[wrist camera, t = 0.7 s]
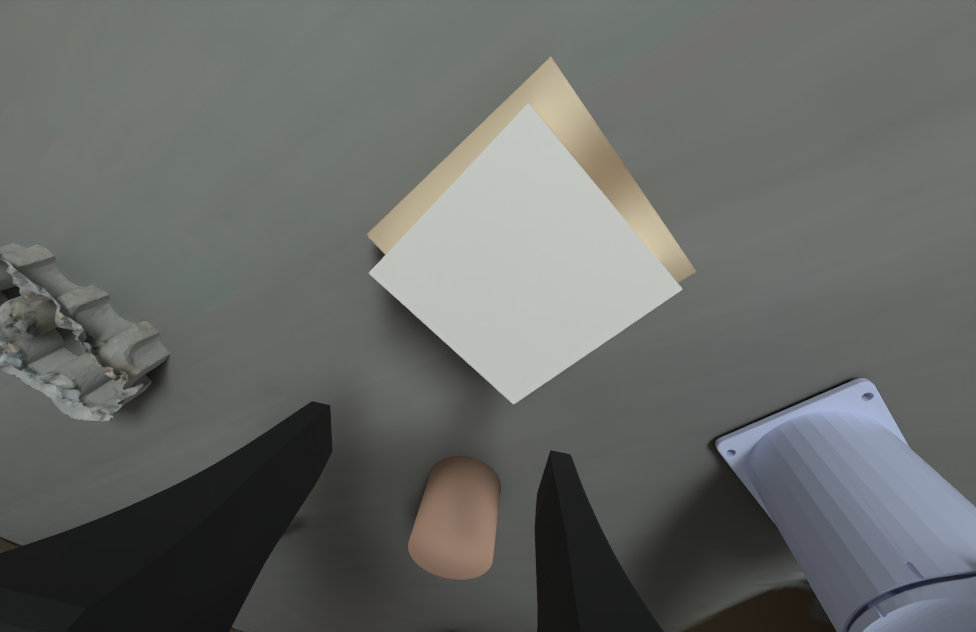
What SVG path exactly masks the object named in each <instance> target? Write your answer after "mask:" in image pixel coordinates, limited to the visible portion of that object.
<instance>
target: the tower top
mask: <svg viewBox="0 0 976 632" xmlns="http://www.w3.org/2000/svg"><path fill="white" fill-rule="evenodd" d="M369 274H370V275H371V276H372V277H373V278H374V279H375V280H377V281H378V282H379V283H380V284H381V285H382V286H383V287H384V288H385V289H386V290H388V291H389V292H390V293H391V294H392V295H393V296H394V297H395V298H396V299H398V300H399V301H400V302H401V303H402V304H403V305H404V306H405V307H406V308H407V309H409V310H410V311H411V312H412V313H413V314H414V315H415V316H416V317H417V318H419V319H420V320H421V321H422V322H423V323H424V324H425V325H426V326H427V327H428V328H430V329H431V330H432V331H433V332H434V333H435V334H436V335H437V336H438V337H439V338H441V339H442V340H443V341H444V342H445V343H446V344H447V345H448V346H449V347H451V348H452V349H453V350H454V351H455V352H456V353H457V354H458V355H459V356H460V357H462V358H463V359H464V360H465V361H466V362H467V363H468V364H469V365H470V366H472V367H473V368H474V369H475V370H476V371H477V372H478V373H479V374H480V375H481V376H483V377H484V378H485V379H486V380H487V381H488V382H489V383H490V384H491V385H492V386H494V387H495V388H496V389H497V390H498V391H499V392H500V393H501V394H502V395H504V396H505V397H506V398H507V399H508V400H509V401H510V402H511V403H512V404H513V405H514V404H515V403H517V402H518V401H519V400H521V399H522V398H524V397H525V396H527V395H528V394H530V393H531V392H533V391H534V390H536V389H537V388H539V387H540V386H542V385H543V384H544V383H546V382H547V381H549V380H550V379H552V378H553V377H555V376H556V375H558V374H559V373H561V372H562V371H564V370H565V369H566V368H568V367H569V366H571V365H572V364H574V363H575V362H577V361H578V360H580V359H581V358H583V357H584V356H586V355H587V354H588V353H590V352H591V351H593V350H594V349H596V348H597V347H599V346H600V345H602V344H603V343H605V342H606V341H608V340H609V339H611V338H612V337H613V336H615V335H616V334H618V333H619V332H621V331H622V330H624V329H625V328H627V327H628V326H630V325H631V324H633V323H634V322H635V321H637V320H638V319H640V318H641V317H643V316H644V315H646V314H647V313H649V312H650V311H652V310H653V309H655V308H656V307H657V306H659V305H660V304H662V303H663V302H665V301H666V300H668V299H669V298H671V297H672V296H674V295H675V294H677V293H678V292H680V291H681V290H682V288H681V287H680V285H679V284H678V283H677V282H676V280H675V279H674V278H673V277H672V276H671V274H670V273H669V272H668V271H667V270H666V268H665V267H664V266H663V265H662V264H661V262H660V261H659V260H658V259H657V257H656V256H655V255H654V254H653V253H652V251H651V250H650V249H649V248H648V247H647V245H646V244H645V243H644V242H643V241H642V239H641V238H640V237H639V236H638V235H637V233H636V232H635V231H634V230H633V229H632V227H631V226H630V225H629V224H628V222H627V221H626V220H625V219H624V218H623V216H622V215H621V214H620V213H619V212H618V210H617V209H616V208H615V207H614V206H613V204H612V203H611V202H610V201H609V200H608V198H607V197H606V196H605V195H604V194H603V192H602V191H601V190H600V189H599V188H598V186H597V185H596V184H595V183H594V181H593V180H592V179H591V178H590V177H589V175H588V174H587V173H586V172H585V171H584V169H583V168H582V167H581V166H580V165H579V163H578V162H577V161H576V160H575V159H574V157H573V156H572V155H571V154H570V153H569V151H568V150H567V149H566V148H565V147H564V145H563V144H562V143H561V142H560V140H559V139H558V138H557V137H556V136H555V134H554V133H553V132H552V131H551V130H550V128H549V127H548V126H547V125H546V124H545V122H544V121H543V120H542V119H541V118H540V116H539V115H538V114H537V113H536V112H535V110H534V109H533V108H532V107H531V106H530V104H529V103H528V104H527V105H526V106H525V107H524V108H523V109H522V110H521V111H520V112H519V113H518V114H517V115H516V116H515V118H514V119H513V120H512V121H511V122H510V123H509V124H508V125H507V126H506V127H505V128H504V129H503V130H502V131H501V132H500V134H499V135H498V136H497V137H496V138H495V139H494V140H493V141H492V142H491V143H490V144H489V145H488V146H487V147H486V148H485V150H484V151H483V152H482V153H481V154H480V155H479V156H478V157H477V158H476V159H475V160H474V161H473V162H472V163H471V164H470V166H469V167H468V168H467V169H466V170H465V171H464V172H463V173H462V174H461V175H460V176H459V177H458V178H457V179H456V180H455V181H454V183H453V184H452V185H451V186H450V187H449V188H448V189H447V190H446V191H445V192H444V193H443V194H442V195H441V196H440V197H439V199H438V200H437V201H436V202H435V203H434V204H433V205H432V206H431V207H430V208H429V209H428V210H427V211H426V212H425V213H424V215H423V216H422V217H421V218H420V219H419V220H418V221H417V222H416V223H415V224H414V225H413V226H412V227H411V228H410V229H409V231H408V232H407V233H406V234H405V235H404V236H403V237H402V238H401V239H400V240H399V241H398V242H397V243H396V244H395V245H394V247H393V248H392V249H391V250H390V251H389V252H388V253H387V254H386V255H385V256H384V257H383V258H382V259H381V260H380V261H379V263H378V264H377V265H376V266H375V267H374V268H373V269H372V270H371V271H370V272H369Z"/></svg>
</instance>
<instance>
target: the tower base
mask: <svg viewBox="0 0 976 632" xmlns="http://www.w3.org/2000/svg"><path fill="white" fill-rule="evenodd" d="M528 103H529V104H530V106H531V107H532V108H533V109H534V110H535V112H536V113H537V114H538V115H539V116H540V118H541V119H542V120H543V121H544V122H545V124H546V125H547V126H548V127H549V128H550V130H551V131H552V132H553V133H554V134H555V136H556V137H557V138H558V139H559V140H560V142H561V143H562V144H563V145H564V147H565V148H566V149H567V150H568V151H569V153H570V154H571V155H572V156H573V157H574V159H575V160H576V161H577V162H578V163H579V165H580V166H581V167H582V168H583V169H584V171H585V172H586V173H587V174H588V175H589V177H590V178H591V179H592V180H593V181H594V183H595V184H596V185H597V186H598V188H599V189H600V190H601V191H602V192H603V194H604V195H605V196H606V197H607V198H608V200H609V201H610V202H611V203H612V204H613V206H614V207H615V208H616V209H617V210H618V212H619V213H620V214H621V215H622V216H623V218H624V219H625V220H626V221H627V222H628V224H629V225H630V226H631V227H632V229H633V230H634V231H635V232H636V233H637V235H638V236H639V237H640V238H641V239H642V241H643V242H644V243H645V244H646V245H647V247H648V248H649V249H650V250H651V251H652V253H653V254H654V255H655V256H656V257H657V259H658V260H659V261H660V262H661V264H662V265H663V266H664V267H665V268H666V270H667V271H668V272H669V273H670V274H671V276H672V277H673V278H674V279H675V280H676V282H677V283H679V282H680V281H682V280H684V279H685V278H687V277H689V276H690V275H692V274H694V273H695V272H696V270H695V269H694V268H693V266H692V265H691V263H690V262H689V260H688V259H687V257H686V256H685V254H684V253H683V251H682V250H681V248H680V247H679V245H678V244H677V242H676V241H675V239H674V238H673V236H672V235H671V234H670V232H669V231H668V229H667V228H666V226H665V225H664V223H663V222H662V220H661V219H660V217H659V216H658V214H657V213H656V211H655V210H654V208H653V207H652V205H651V204H650V202H649V201H648V200H647V198H646V197H645V195H644V194H643V192H642V191H641V189H640V188H639V186H638V185H637V183H636V182H635V180H634V179H633V177H632V176H631V174H630V173H629V171H628V170H627V168H626V167H625V166H624V164H623V163H622V161H621V160H620V158H619V157H618V155H617V154H616V152H615V151H614V149H613V148H612V146H611V145H610V143H609V142H608V140H607V139H606V137H605V136H604V134H603V133H602V132H601V130H600V129H599V127H598V126H597V124H596V123H595V121H594V120H593V118H592V117H591V115H590V114H589V112H588V111H587V109H586V108H585V106H584V105H583V103H582V102H581V101H580V99H579V98H578V96H577V95H576V93H575V92H574V90H573V89H572V87H571V86H570V84H569V83H568V81H567V80H566V78H565V77H564V75H563V74H562V72H561V71H560V69H559V68H558V67H557V65H556V64H555V62H554V61H553V59H552V58H551V57H550V58H549V59H548V60H547V61H546V62H545V63H544V64H543V65H542V66H541V67H540V68H539V69H538V70H536V71H535V72H534V73H533V74H532V75H531V76H530V77H529V78H528V79H527V80H526V81H525V82H524V83H523V84H522V85H521V86H520V87H519V88H518V89H517V90H516V91H515V92H514V93H513V94H512V95H511V96H510V97H509V98H508V99H506V100H505V101H504V102H503V103H502V104H501V105H500V106H499V107H498V108H497V109H496V110H495V111H494V112H493V113H492V114H491V115H490V116H489V117H488V118H487V119H486V120H485V121H484V122H483V123H482V124H481V125H480V126H479V127H478V128H476V129H475V130H474V131H473V132H472V133H471V134H470V135H469V136H468V137H467V138H466V139H465V140H464V141H463V142H462V143H461V144H460V145H459V146H458V147H457V148H456V149H455V150H454V151H453V152H452V153H451V154H450V155H449V156H448V157H447V158H445V159H444V160H443V161H442V162H441V163H440V164H439V165H438V166H437V167H436V168H435V169H434V170H433V171H432V172H431V173H430V174H429V175H428V176H427V177H426V178H425V179H424V180H423V181H422V182H421V183H420V184H419V185H418V186H417V187H415V188H414V189H413V190H412V191H411V192H410V193H409V194H408V195H407V196H406V197H405V198H404V199H403V200H402V201H401V202H400V203H399V204H398V205H397V206H396V207H395V208H394V209H393V210H392V211H391V212H390V213H389V214H388V215H387V216H385V217H384V218H383V219H382V220H381V221H380V222H379V223H378V224H377V225H376V226H375V227H374V228H373V229H372V230H371V231H370V232H369V233H368V234H367V236H368V237H369V238H370V239H371V240H372V241H373V242H374V243H375V244H376V245H377V246H378V248H379V249H380V250H381V251H382V252H383V253H384V254H385V255H386V254H387V253H388V252H389V251H390V250H391V249H392V248H393V247H394V245H395V244H396V243H397V242H398V241H399V240H400V239H401V238H402V237H403V236H404V235H405V234H406V233H407V232H408V231H409V229H410V228H411V227H412V226H413V225H414V224H415V223H416V222H417V221H418V220H419V219H420V218H421V217H422V216H423V215H424V213H425V212H426V211H427V210H428V209H429V208H430V207H431V206H432V205H433V204H434V203H435V202H436V201H437V200H438V199H439V197H440V196H441V195H442V194H443V193H444V192H445V191H446V190H447V189H448V188H449V187H450V186H451V185H452V184H453V183H454V181H455V180H456V179H457V178H458V177H459V176H460V175H461V174H462V173H463V172H464V171H465V170H466V169H467V168H468V167H469V166H470V164H471V163H472V162H473V161H474V160H475V159H476V158H477V157H478V156H479V155H480V154H481V153H482V152H483V151H484V150H485V148H486V147H487V146H488V145H489V144H490V143H491V142H492V141H493V140H494V139H495V138H496V137H497V136H498V135H499V134H500V132H501V131H502V130H503V129H504V128H505V127H506V126H507V125H508V124H509V123H510V122H511V121H512V120H513V119H514V118H515V116H516V115H517V114H518V113H519V112H520V111H521V110H522V109H523V108H524V107H525V106H526V105H527V104H528Z"/></svg>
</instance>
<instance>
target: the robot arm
mask: <svg viewBox="0 0 976 632" xmlns="http://www.w3.org/2000/svg"><path fill="white" fill-rule="evenodd" d="M865 393H867V394H865ZM864 394H865V395H864ZM862 395H864V396H862ZM715 446H716V448H717V450H718V451H719V453H720V454H721V455H722V457H723V458H724V459H725V460H726V462H727V463H728V464H729V466H730V467H731V468H732V469H733V471H734V472H735V473H736V475H737V476H738V477H739V478H740V480H741V481H742V482H743V484H744V485H745V486H746V487H747V489H748V490H749V491H750V493H751V494H752V495H753V496H754V498H755V499H756V500H757V502H758V503H759V504H760V505H761V507H762V508H763V509H764V511H765V512H766V513H767V514H768V516H769V517H770V518H771V520H772V521H773V522H774V523H775V525H776V526H777V528H778V530H779V531H780V533H781V535H782V537H783V538H784V540H785V542H786V544H787V545H788V547H789V549H790V550H791V552H792V554H793V556H794V557H795V559H796V561H797V563H798V564H799V566H800V568H801V570H802V571H803V573H804V575H805V577H806V578H807V580H808V582H809V584H810V585H811V587H812V589H813V591H814V592H815V594H816V596H817V598H818V599H819V601H820V603H821V605H822V606H823V608H824V610H825V612H826V613H827V615H828V617H829V619H830V620H831V622H832V624H833V626H834V627H835V629H836V630H837V632H976V507H975V506H974V505H972V504H971V503H970V502H969V501H968V500H967V499H966V498H965V497H964V496H962V495H961V494H960V493H959V492H958V491H957V490H956V489H955V488H954V487H952V486H951V485H950V484H949V483H948V482H947V481H946V480H945V479H944V478H942V477H941V476H940V475H939V474H938V473H937V472H936V471H935V470H934V469H933V468H931V467H930V466H929V465H928V464H927V463H926V462H925V461H924V460H923V459H921V458H920V457H919V456H918V455H917V454H916V453H915V452H914V451H913V450H911V449H910V448H909V446H908V444H907V442H906V441H905V439H904V437H903V435H902V433H901V432H900V430H899V428H898V426H897V425H896V423H895V421H894V419H893V417H892V416H891V414H890V412H889V410H888V409H887V407H886V405H885V403H884V402H883V400H882V398H881V396H880V394H879V393H878V391H877V389H876V387H875V386H874V384H873V383H872V382H870V381H869V380H868V379H865V378H858V379H855V380H852V381H850V382H848V383H846V384H843V385H841V386H839V387H836V388H834V389H832V390H829V391H827V392H825V393H822V394H820V395H818V396H815V397H813V398H811V399H808V400H806V401H804V402H801V403H799V404H797V405H795V406H792V407H790V408H788V409H785V410H783V411H781V412H778V413H776V414H774V415H771V416H769V417H767V418H764V419H762V420H760V421H757V422H755V423H753V424H750V425H748V426H746V427H744V428H741V429H739V430H737V431H734V432H732V433H730V434H727V435H725V436H723V437H720V438H719V439H717V440H716V442H715ZM728 450H731V451H728ZM331 452H332V435H331V414H330V405H327V404H322V403H317V402H313V401H312V402H310V403H309V404H307V405H306V406H304V407H303V408H301V409H300V410H298V411H297V412H295V413H294V414H292V415H291V416H289V417H288V418H286V419H285V420H284V421H282V422H281V423H279V424H278V425H276V426H275V427H273V428H272V429H270V430H269V431H267V432H266V433H264V434H262V435H261V436H259V437H258V438H256V439H255V440H253V441H252V442H250V443H249V444H247V445H245V446H244V447H242V448H241V449H239V450H237V451H236V452H234V453H232V454H231V455H229V456H227V457H226V458H224V459H222V460H221V461H219V462H217V463H216V464H214V465H212V466H210V467H209V468H207V469H205V470H203V471H201V472H199V473H198V474H196V475H194V476H192V477H190V478H188V479H186V480H184V481H182V482H180V483H178V484H176V485H174V486H172V487H170V488H168V489H166V490H164V491H161V492H159V493H157V494H155V495H153V496H150V497H148V498H146V499H144V500H142V501H139V502H137V503H135V504H133V505H131V506H128V507H126V508H124V509H121V510H119V511H116V512H114V513H112V514H109V515H107V516H104V517H102V518H99V519H97V520H94V521H91V522H89V523H86V524H84V525H81V526H78V527H76V528H73V529H70V530H68V531H65V532H62V533H59V534H57V535H54V536H51V537H48V538H45V539H42V540H39V541H36V542H33V543H30V544H27V545H24V546H21V547H18V548H15V549H13V550H9V551H6V552H3V553H0V632H229V631H230V629H231V627H232V625H233V623H234V621H235V619H236V617H237V615H238V613H239V611H240V609H241V607H242V605H243V603H244V601H245V599H246V597H247V595H248V594H249V592H250V590H251V588H252V586H253V584H254V582H255V581H256V579H257V577H258V575H259V573H260V571H261V569H262V567H263V566H264V564H265V562H266V560H267V559H268V557H269V555H270V554H271V552H272V550H273V549H274V547H275V545H276V544H277V542H278V541H279V539H280V538H281V536H282V535H283V533H284V532H285V530H286V529H287V527H288V526H289V524H290V523H291V521H292V519H293V518H294V516H295V515H296V513H297V512H298V510H299V509H300V507H301V506H302V504H303V503H304V501H305V500H306V498H307V496H308V495H309V493H310V492H311V490H312V489H313V487H314V486H315V484H316V482H317V481H318V479H319V477H320V475H321V473H322V471H323V469H324V467H325V465H326V463H327V461H328V459H329V457H330V455H331ZM535 549H536V576H537V603H538V627H537V632H663V630H662V629H661V627H660V626H659V624H658V623H657V622H656V620H655V619H654V617H653V616H652V615H651V613H650V612H649V610H648V609H647V607H646V606H645V604H644V603H643V601H642V599H641V598H640V596H639V595H638V593H637V592H636V590H635V588H634V587H633V585H632V584H631V582H630V580H629V579H628V577H627V575H626V574H625V572H624V570H623V568H622V567H621V565H620V563H619V561H618V560H617V558H616V556H615V554H614V552H613V550H612V549H611V547H610V545H609V543H608V541H607V539H606V537H605V535H604V533H603V531H602V529H601V527H600V525H599V523H598V521H597V518H596V516H595V514H594V512H593V510H592V507H591V505H590V503H589V501H588V498H587V496H586V494H585V491H584V489H583V486H582V484H581V481H580V479H579V476H578V473H577V471H576V468H575V465H574V462H573V459H572V457H571V455H570V454H566V453H561V452H556V451H551V450H550V453H549V457H548V460H547V463H546V467H545V470H544V473H543V476H542V480H541V483H540V486H539V489H538V493H537V502H536V516H535Z"/></svg>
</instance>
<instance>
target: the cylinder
mask: <svg viewBox="0 0 976 632" xmlns="http://www.w3.org/2000/svg"><path fill="white" fill-rule="evenodd" d="M500 490H501V484H500V480H499V477H498V475H497V474H496V473H495V471H494V470H493V469H492V468H490V467H489V466H488V465H486V464H485V463H483V462H481V461H479V460H476V459H473V458H469V457H450V458H446V459H444V460H441V461H440V462H438V463H437V464H436V465H435V466H434V467H433V468H432V470H431V472H430V475H429V479H428V482H427V485H426V488H425V491H424V495H423V498H422V501H421V504H420V507H419V511H418V514H417V517H416V520H415V523H414V527H413V530H412V533H411V536H410V539H409V542H408V550H409V553H410V555H411V557H412V559H413V560H414V561H415V562H416V563H417V564H418V565H419V566H420V567H421V568H423V569H424V570H426V571H428V572H430V573H432V574H434V575H437V576H440V577H443V578H447V579H454V580H466V579H472V578H476V577H479V576H481V575H483V574H484V573H486V572H487V571H488V570H489V568H490V567H491V565H492V562H493V554H494V544H495V535H496V526H497V517H498V508H499V499H500Z"/></svg>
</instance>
